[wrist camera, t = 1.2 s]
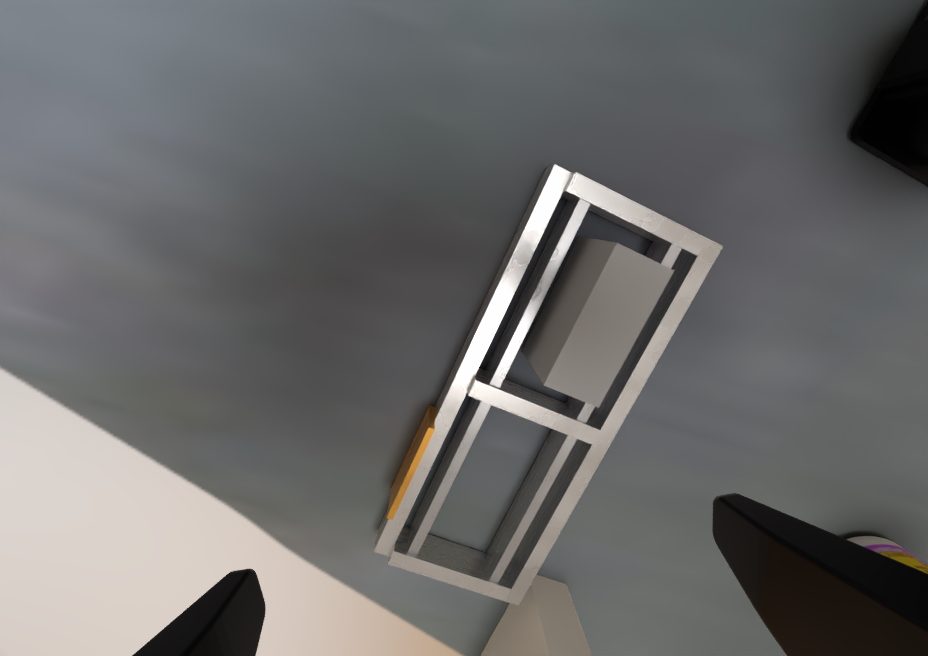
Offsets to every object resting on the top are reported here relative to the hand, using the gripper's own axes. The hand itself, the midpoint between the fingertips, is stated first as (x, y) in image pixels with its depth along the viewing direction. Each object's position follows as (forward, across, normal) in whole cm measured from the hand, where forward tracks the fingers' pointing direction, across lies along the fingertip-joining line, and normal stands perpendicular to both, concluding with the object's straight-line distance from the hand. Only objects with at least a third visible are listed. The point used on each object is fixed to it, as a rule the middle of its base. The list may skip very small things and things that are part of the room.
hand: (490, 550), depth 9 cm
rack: (+13, -3, +3) cm, 14 cm away
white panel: (+13, -2, +17) cm, 22 cm away
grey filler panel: (+13, -6, -1) cm, 15 cm away
